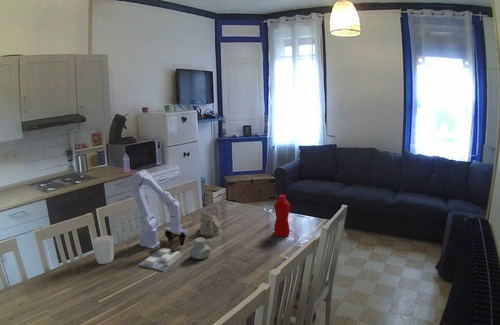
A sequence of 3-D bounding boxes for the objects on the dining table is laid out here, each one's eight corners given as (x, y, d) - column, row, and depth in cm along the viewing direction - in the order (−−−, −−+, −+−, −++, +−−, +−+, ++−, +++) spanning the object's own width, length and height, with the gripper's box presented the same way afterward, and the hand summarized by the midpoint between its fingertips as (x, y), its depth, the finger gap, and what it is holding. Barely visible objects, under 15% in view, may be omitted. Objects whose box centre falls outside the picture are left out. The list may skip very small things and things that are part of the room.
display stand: (138, 265, 174) (137, 258, 173) (159, 250, 190) (159, 243, 189) (163, 271, 168) (163, 264, 167) (184, 255, 184) (183, 248, 183)
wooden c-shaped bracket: (160, 248, 192) (159, 240, 191) (172, 240, 202) (172, 232, 201) (171, 251, 189) (171, 242, 188) (183, 242, 200) (183, 234, 198)
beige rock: (215, 238, 205) (214, 214, 202) (194, 233, 213) (193, 210, 211) (230, 230, 218) (229, 207, 216) (210, 226, 226) (209, 204, 224)
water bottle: (292, 237, 205) (293, 197, 200) (274, 237, 205) (275, 198, 200) (291, 230, 214) (291, 193, 209) (273, 231, 214) (274, 193, 209)
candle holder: (119, 257, 182) (117, 236, 180) (106, 266, 173) (103, 244, 171) (104, 254, 186) (102, 234, 183) (91, 263, 176) (88, 241, 174)
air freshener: (202, 250, 189) (201, 234, 187) (213, 255, 184) (212, 238, 182) (187, 258, 181) (186, 241, 179) (198, 263, 176) (197, 245, 174)
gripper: (190, 221, 192) (191, 243, 195) (168, 217, 198) (170, 239, 200) (183, 225, 186) (184, 248, 189) (161, 222, 191) (162, 244, 194)
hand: (176, 244), depth 194 cm, fingers open, 7 cm apart
